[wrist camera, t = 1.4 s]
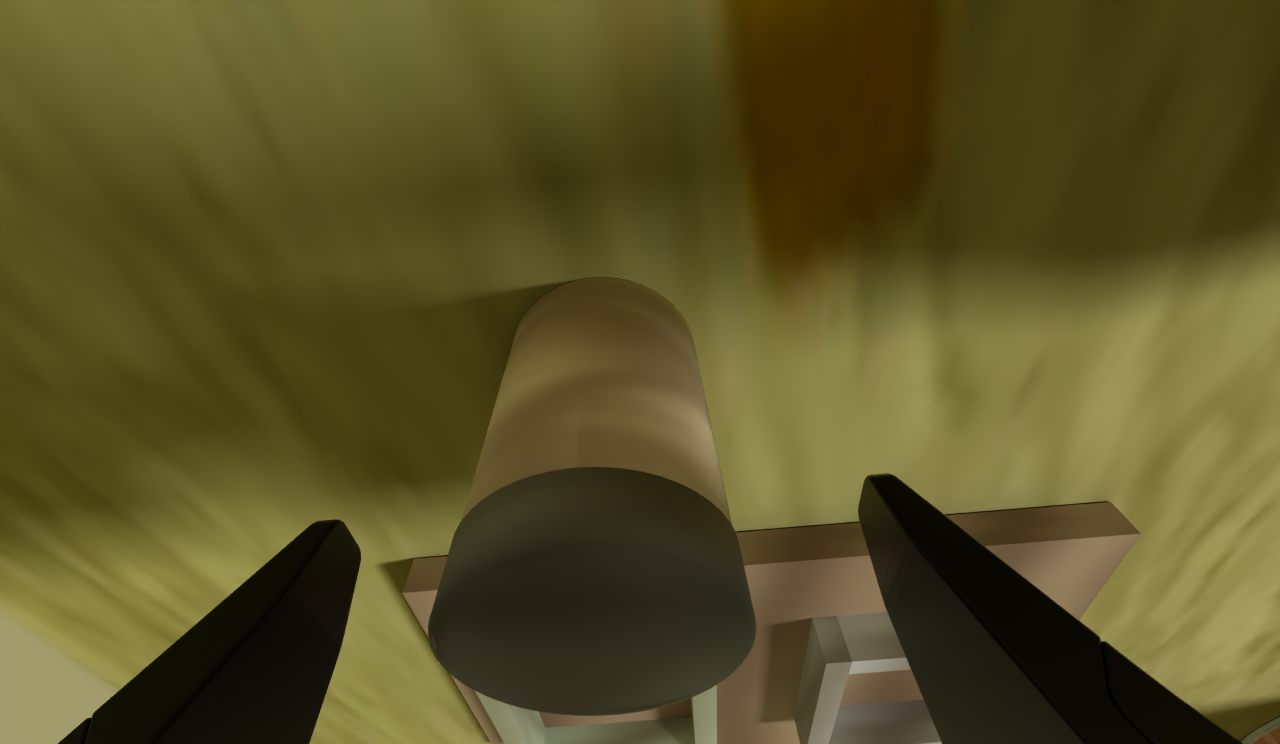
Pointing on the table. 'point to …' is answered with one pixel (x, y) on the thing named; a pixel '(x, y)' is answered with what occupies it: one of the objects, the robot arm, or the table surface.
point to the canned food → (1265, 734)
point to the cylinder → (596, 519)
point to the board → (821, 637)
